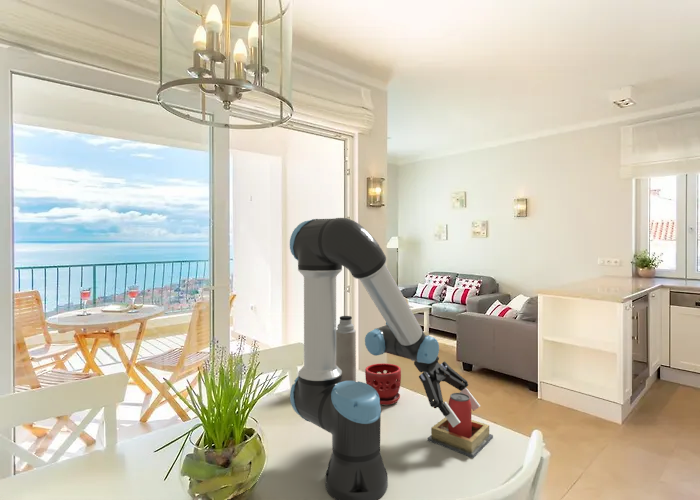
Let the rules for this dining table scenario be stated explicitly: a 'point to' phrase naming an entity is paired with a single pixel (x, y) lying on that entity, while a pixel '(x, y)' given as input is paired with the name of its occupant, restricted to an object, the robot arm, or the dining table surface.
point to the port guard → (461, 438)
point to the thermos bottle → (346, 348)
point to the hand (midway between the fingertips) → (467, 416)
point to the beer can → (461, 414)
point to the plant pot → (384, 381)
